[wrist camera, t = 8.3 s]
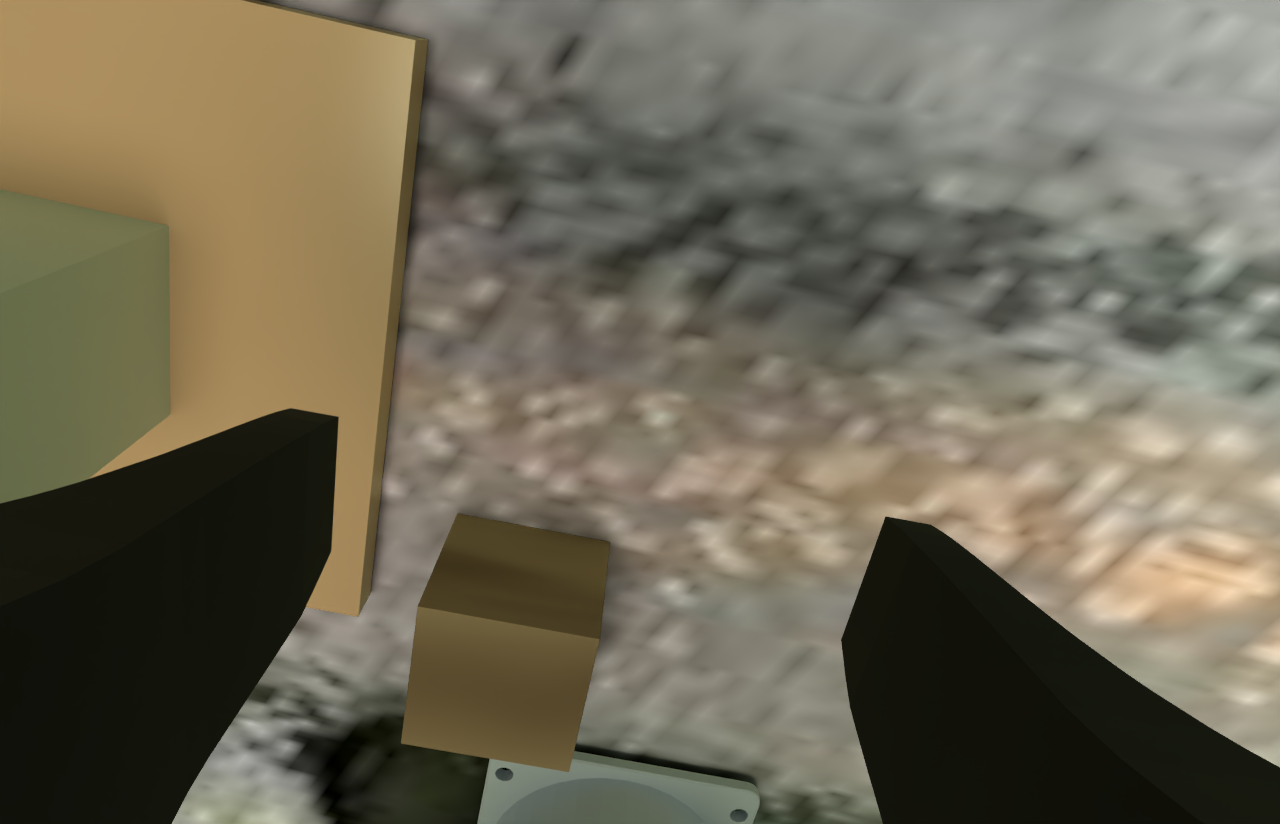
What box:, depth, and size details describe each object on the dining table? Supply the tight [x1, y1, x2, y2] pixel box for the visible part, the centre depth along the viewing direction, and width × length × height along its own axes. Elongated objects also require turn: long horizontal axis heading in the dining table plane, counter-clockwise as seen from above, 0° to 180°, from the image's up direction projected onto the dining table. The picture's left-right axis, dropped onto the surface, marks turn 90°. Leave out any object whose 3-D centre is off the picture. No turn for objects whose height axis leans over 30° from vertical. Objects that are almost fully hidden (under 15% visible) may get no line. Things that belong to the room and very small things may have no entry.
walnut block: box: [401, 513, 610, 772], centre depth 21 cm, size 4×4×4 cm
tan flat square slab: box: [0, 0, 428, 617], centre depth 19 cm, size 14×14×1 cm
